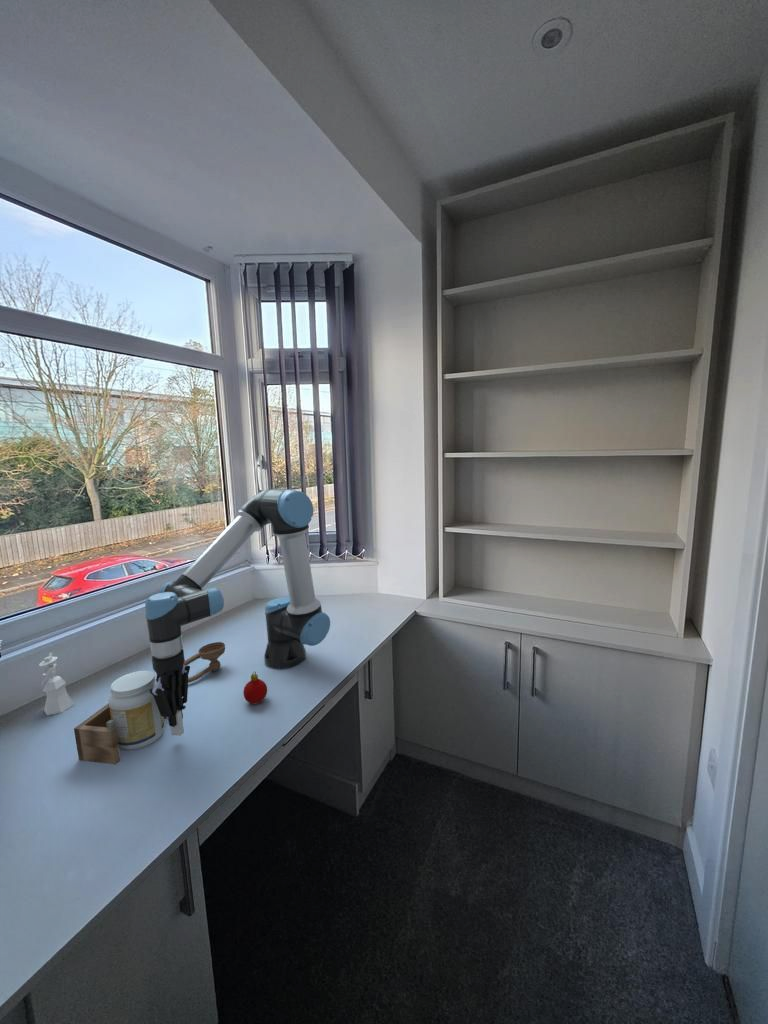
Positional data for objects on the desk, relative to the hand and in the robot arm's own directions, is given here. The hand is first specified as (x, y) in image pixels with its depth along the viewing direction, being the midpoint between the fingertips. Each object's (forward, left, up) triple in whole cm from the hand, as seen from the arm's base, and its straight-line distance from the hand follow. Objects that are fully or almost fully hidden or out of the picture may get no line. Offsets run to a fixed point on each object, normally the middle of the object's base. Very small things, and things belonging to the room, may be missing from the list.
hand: (177, 733), depth 115 cm
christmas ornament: (-13, -20, -3) cm, 24 cm away
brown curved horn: (+18, -35, -3) cm, 39 cm away
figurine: (+48, -9, -3) cm, 49 cm away
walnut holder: (+16, 0, -2) cm, 17 cm away
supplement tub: (+12, 0, -3) cm, 12 cm away
